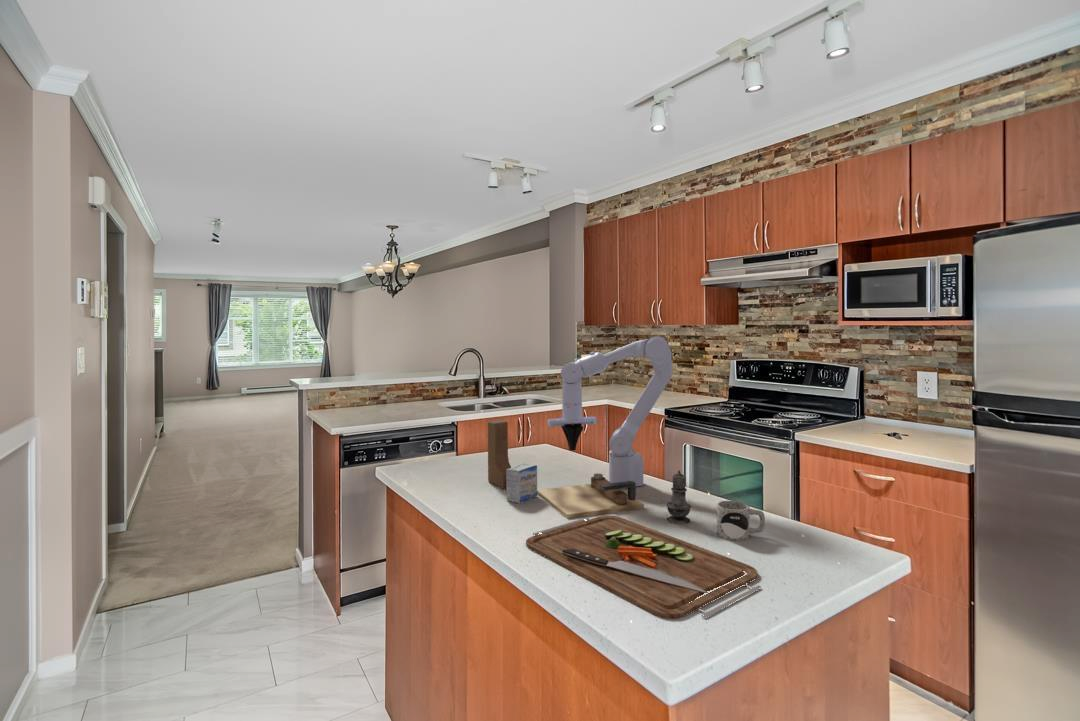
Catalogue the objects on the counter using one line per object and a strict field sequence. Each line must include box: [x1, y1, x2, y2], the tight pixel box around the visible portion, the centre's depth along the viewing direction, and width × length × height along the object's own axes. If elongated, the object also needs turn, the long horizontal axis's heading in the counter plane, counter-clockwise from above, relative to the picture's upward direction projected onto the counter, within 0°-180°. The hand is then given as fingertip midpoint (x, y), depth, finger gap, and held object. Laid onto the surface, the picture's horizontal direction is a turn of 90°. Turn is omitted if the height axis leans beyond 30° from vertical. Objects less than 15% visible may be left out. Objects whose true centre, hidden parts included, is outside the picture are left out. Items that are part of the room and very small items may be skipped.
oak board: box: [537, 483, 645, 520], centre depth 147 cm, size 21×21×1 cm
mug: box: [716, 500, 766, 542], centre depth 122 cm, size 10×7×7 cm
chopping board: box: [525, 515, 762, 620], centre depth 111 cm, size 45×27×3 cm, turn 38°
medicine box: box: [506, 462, 538, 504], centre depth 149 cm, size 8×4×9 cm, turn 143°
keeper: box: [600, 481, 637, 500], centre depth 143 cm, size 9×2×6 cm, turn 111°
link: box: [590, 472, 628, 505], centre depth 149 cm, size 18×4×3 cm, turn 17°
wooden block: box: [487, 419, 512, 489], centre depth 162 cm, size 9×4×18 cm, turn 34°
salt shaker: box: [665, 469, 693, 525], centre depth 132 cm, size 6×6×12 cm
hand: (572, 449), depth 164 cm, fingers closed
